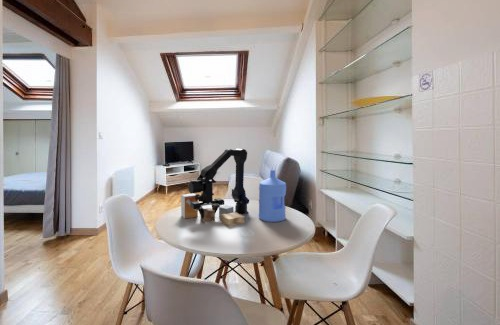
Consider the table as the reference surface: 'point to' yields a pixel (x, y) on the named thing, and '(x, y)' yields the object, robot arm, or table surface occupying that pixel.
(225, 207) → the slate cube
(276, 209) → the water jug
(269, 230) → the table surface
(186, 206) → the small box
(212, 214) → the walnut cube
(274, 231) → the table surface
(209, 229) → the table surface
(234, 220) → the oak slab
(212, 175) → the robot arm
